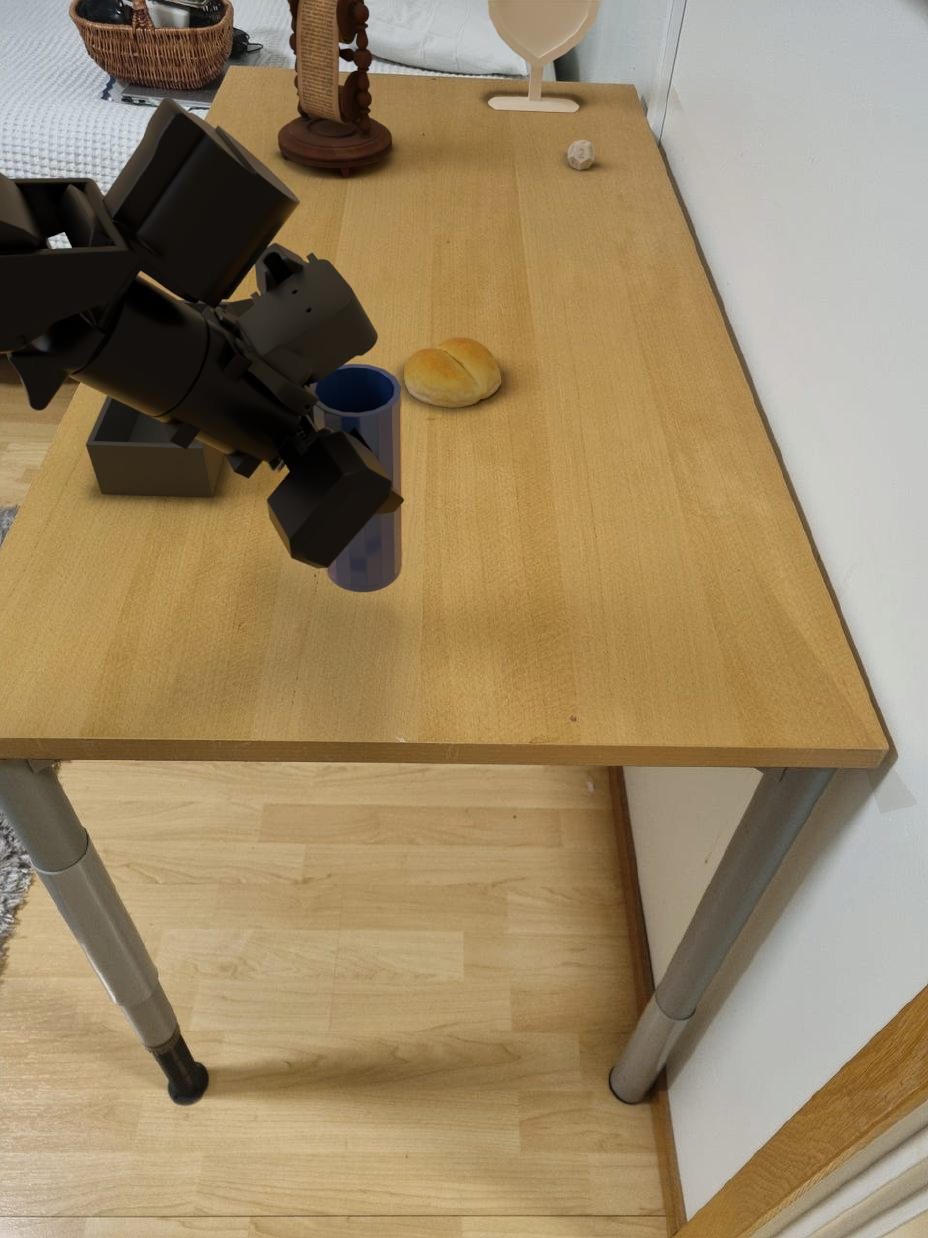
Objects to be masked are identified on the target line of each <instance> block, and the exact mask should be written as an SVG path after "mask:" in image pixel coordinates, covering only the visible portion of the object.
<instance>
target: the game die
mask: <svg viewBox="0 0 928 1238" xmlns="http://www.w3.org/2000/svg"><path fill="white" fill-rule="evenodd" d="M595 157H596V150H595V148H594V146H593V143H592V142H590V141H588V140H586V139H579V140H575V141H573V143H571V145H570V147H568V149H567V160H568V163H569V165H570V167H571V168H572V169H575V170H577V171H583V170H587V169H589V168H590V167H591V165H592V164H593V163H594V161H595Z"/></svg>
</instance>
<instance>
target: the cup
mask: <svg viewBox="0 0 928 1238" xmlns="http://www.w3.org/2000/svg"><path fill="white" fill-rule="evenodd" d="M309 388H311V389H312V390H314V392H315V393H316V395H317V396H318V398H319V400H318V402H317V403H316V404H315V405H314V407H313V408H312V409H311V410H310V417H311V419H312V421H313V422H314V424H315V425H316V427H317V428H318V430H320V429H322V428H325V427H327V428H330V429H331V430H333V431H334V432H337V431H341V430H343V431H344V432H346V433H348V434H349V432H350V431H351V430H352V429H353V428H354V427H356V428H357V430H358V431H359V433H360V434H361V435H362V437H363V438H364V440H365V441H366V443H367V444H368V445H369V447H370V448H371V450H372V451H373V453H374V456H375V457H376V459H377V460H378V462H379V463H380V464H381V466H382V467H383V469H384V470H385V472H386V473H387V474H388V476H389V477H390V479H391V480H392V481H393V482H392V487H393V488H394V489H395V490H396V491H397V492H398V493H399V494H400V495H401V496H402V497H403V439H402V438H403V436H402V435H403V430H402V428H403V423H402V421H403V420H402V418H403V416H402V415H403V414H402V411H403V410H402V407H403V406H402V403H403V401H402V398H403V397H402V385H401V383H400V382H399V380H398V378H397V376H396V375H394V374H392V373H391V372H389V371H388V370H386V369H385V368H382V367H379V366H375V365H372V364H367V363H366V364H365V363H345V364H344V365H343V366H341V367H340V368H338V369H337V370H335V371H334V372H332V373H331V374H330V375H328V376H327V377H325V378H324V379H322V380H321V381H319V382H317V383H314V384H310V386H309ZM403 525H404V523H403V503H402V504H401V506H400V507H399V508H398V509H397V510H396V511H395V512H393V513H387V514H379V515H373V517H372V518H371V519H370V520H369V521H368V522H367V523H366V525H365V526H364V527H363V528H362V529H361V530H360V532H359V533H358V534H357V535H356V536H355V537H354V538H353V540H352V541H351V542H350V543H349V544H348V545H347V546H346V548H345V549H344V550H343V551H342V552H341V553H340V555H339V556H338V557H337V558H336V559H335V560H334V561H333V563H332V564H331V565H330V566H329V567H328V568H325V572H326V575H327V577H328V578H329V579H330V581H331V582H332V583H333V584H334V585H336V586H337V587H339V588H341V589H342V590H345V591H349V592H354V593H373V592H377V591H380V590H383V589H385V588H387V587H388V586H391V585H392V584H393V583H395V581H397V579H398V578H399V576H400V574H401V573H402V571H403V556H404V549H403V548H404V547H403V546H404V542H403V537H404V535H403V534H404V532H403V527H404V526H403Z"/></svg>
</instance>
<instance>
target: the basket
mask: <svg viewBox="0 0 928 1238" xmlns="http://www.w3.org/2000/svg"><path fill="white" fill-rule="evenodd" d="M178 300H179V301H181V302H183V303H184V304H186V305H188V306H189V307H191V308H192V309H194V310H196V311H197V312H199V313H201V314H202V312H203V311H204V310H205V308H206V307H207V306H209V307H210V308H212V309H213V310H215V309H216V308H215V307H212V306H210V305H207V304H205V303H203V302H201V301H199V302H198V303H196V304H195V303H190V302H188V301H186V300H184V299H178ZM230 302H231V301H221V302H220V304H219V305H218V307H221V308H222V309H224V310H225V309H226V307H227V306H228V305H229V303H230ZM85 447H86V451H87V453H88V456H89V459H90V462H91V466H92V468H93V471H94V475H95V478H96V481H97V484H98V488H99V491H100V492H101V495H122V496H123V495H125V496H127V495H128V496H154V497H155V496H156V497H158V496H159V497H186V498H187V497H188V498H189V497H190V498H213V497H214V494H215V490H216V487H217V483H218V481H219V480H218V479H219V477H220V472H221V468H222V465H223V461H224V458H225V454H224V452H222V451H220V450H218V449H216V448H214V447H212V446H210V445H208V444H205V443H203V442H201V441H199V440H197V439H194V440H193V441H192V443H191V444H190V445H189V446H188V448H187V449H185V448H183V447H180V446H178V445H176V444H174V443H172V442H170V441H169V439H168V437H167V435H166V432H165V430H164V428H163V426H162V424H161V422H160V421H158V420H156V419H154V418H152V417H150V416H148V415H146V414H144V413H142V412H140V411H138V410H136V409H134V408H132V407H130V406H128V405H126V404H124V403H122V402H120V401H118V400H116V399H114V398H111V397H109V396H107V395H106V397H105V400H104V402H103V404H102V407H101V408H100V411H99V413H98V415H97V417H96V420H95V422H94V424H93V427H92V429H91V431H90V434H89V436H88V438H87V441H86V442H85Z"/></svg>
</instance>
